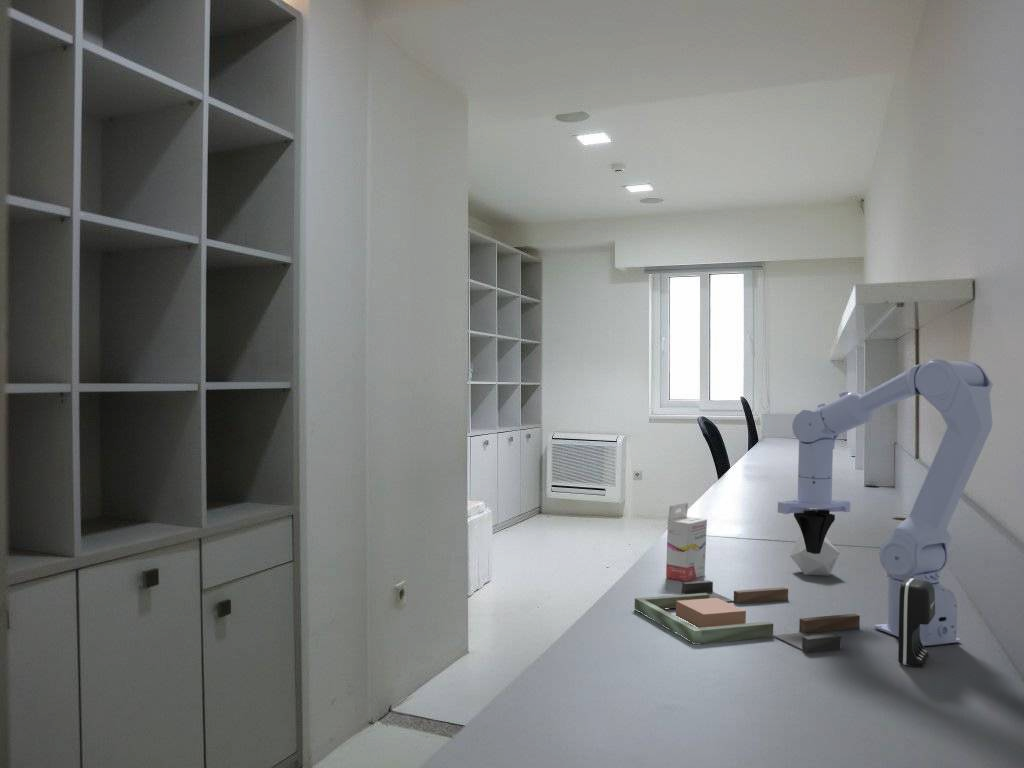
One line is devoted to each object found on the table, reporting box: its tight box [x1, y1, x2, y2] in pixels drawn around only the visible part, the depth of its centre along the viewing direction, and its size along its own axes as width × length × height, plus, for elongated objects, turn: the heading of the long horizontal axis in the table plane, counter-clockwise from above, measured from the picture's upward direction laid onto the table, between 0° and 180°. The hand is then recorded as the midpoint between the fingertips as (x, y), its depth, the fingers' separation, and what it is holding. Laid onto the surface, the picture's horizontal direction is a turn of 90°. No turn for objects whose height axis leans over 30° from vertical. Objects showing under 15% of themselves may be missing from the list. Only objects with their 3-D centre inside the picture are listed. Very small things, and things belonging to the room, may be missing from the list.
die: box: [790, 533, 840, 577], centre depth 161 cm, size 8×9×10 cm
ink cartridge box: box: [665, 502, 708, 582], centre depth 155 cm, size 9×5×15 cm, turn 141°
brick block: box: [675, 598, 747, 628], centre depth 125 cm, size 8×8×3 cm
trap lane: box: [634, 580, 861, 654], centre depth 127 cm, size 34×31×2 cm
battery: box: [897, 578, 935, 668], centre depth 108 cm, size 7×4×11 cm, turn 143°
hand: (813, 552), depth 136 cm, fingers closed
